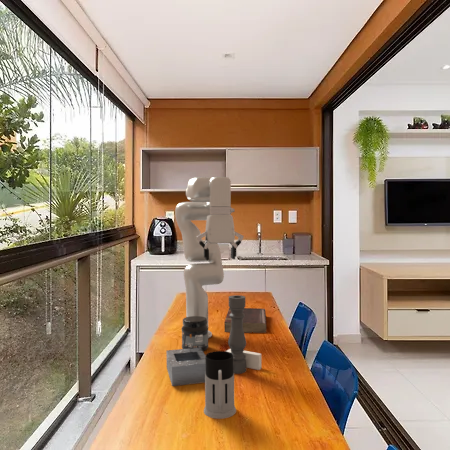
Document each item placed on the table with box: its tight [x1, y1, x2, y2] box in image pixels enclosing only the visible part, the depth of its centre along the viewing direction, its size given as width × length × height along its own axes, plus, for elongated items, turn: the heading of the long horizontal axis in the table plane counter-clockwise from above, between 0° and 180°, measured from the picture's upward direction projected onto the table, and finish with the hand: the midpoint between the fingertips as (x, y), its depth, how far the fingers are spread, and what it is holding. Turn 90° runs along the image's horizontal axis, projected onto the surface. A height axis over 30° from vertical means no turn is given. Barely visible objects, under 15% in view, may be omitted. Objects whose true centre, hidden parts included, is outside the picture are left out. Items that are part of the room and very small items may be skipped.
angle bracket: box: [225, 348, 262, 371], centre depth 143 cm, size 10×17×5 cm, turn 104°
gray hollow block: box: [166, 347, 206, 387], centre depth 136 cm, size 16×12×6 cm
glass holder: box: [203, 350, 237, 420], centre depth 108 cm, size 9×14×15 cm, turn 2°
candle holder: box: [227, 294, 247, 375], centre depth 139 cm, size 6×6×25 cm
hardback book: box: [223, 307, 267, 334], centre depth 199 cm, size 29×19×5 cm, turn 175°
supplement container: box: [181, 316, 209, 352], centre depth 162 cm, size 10×10×12 cm
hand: (220, 259), depth 148 cm, fingers open, 9 cm apart
